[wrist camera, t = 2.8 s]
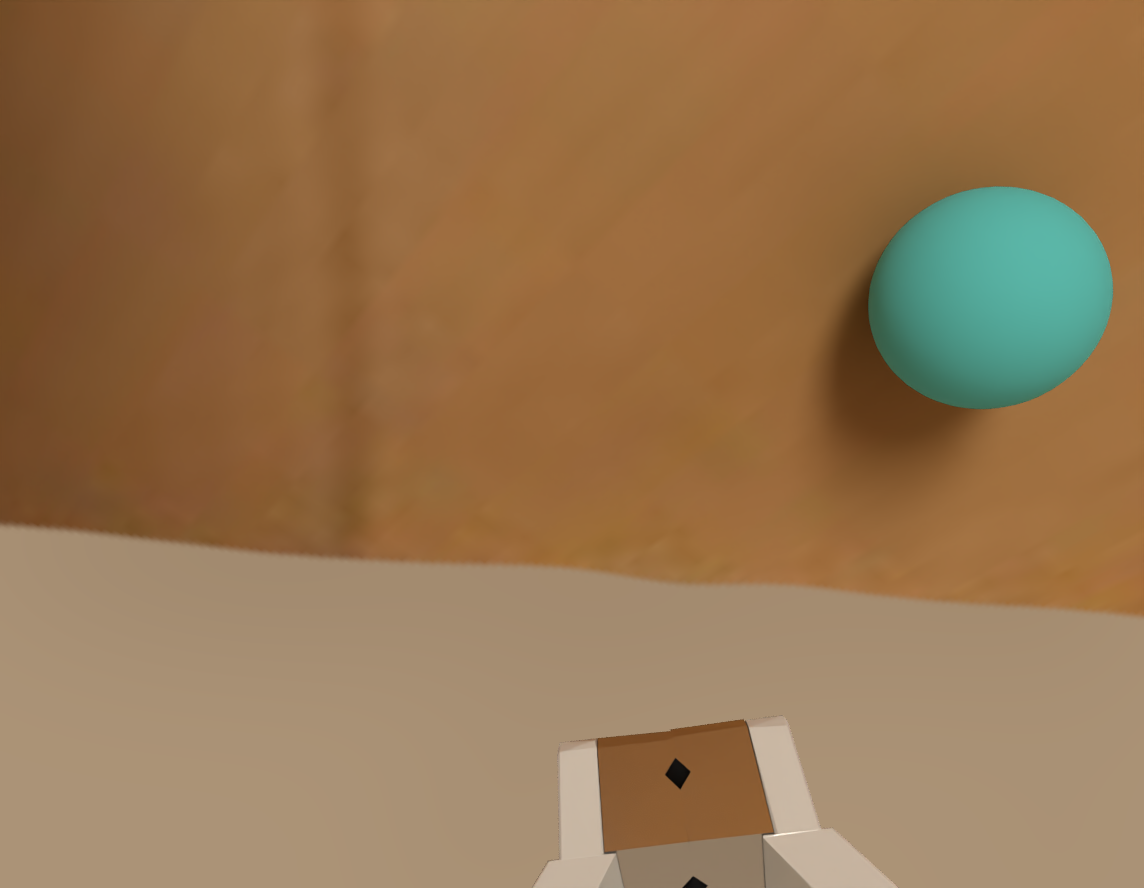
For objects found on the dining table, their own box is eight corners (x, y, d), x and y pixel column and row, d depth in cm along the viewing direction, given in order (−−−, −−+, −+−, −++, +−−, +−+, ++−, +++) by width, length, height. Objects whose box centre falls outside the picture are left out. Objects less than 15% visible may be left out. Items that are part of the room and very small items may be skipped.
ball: (839, 364, 25) (907, 464, 20) (842, 181, 22) (922, 247, 18) (1026, 337, 25) (1139, 432, 20) (1054, 147, 22) (1193, 205, 17)
